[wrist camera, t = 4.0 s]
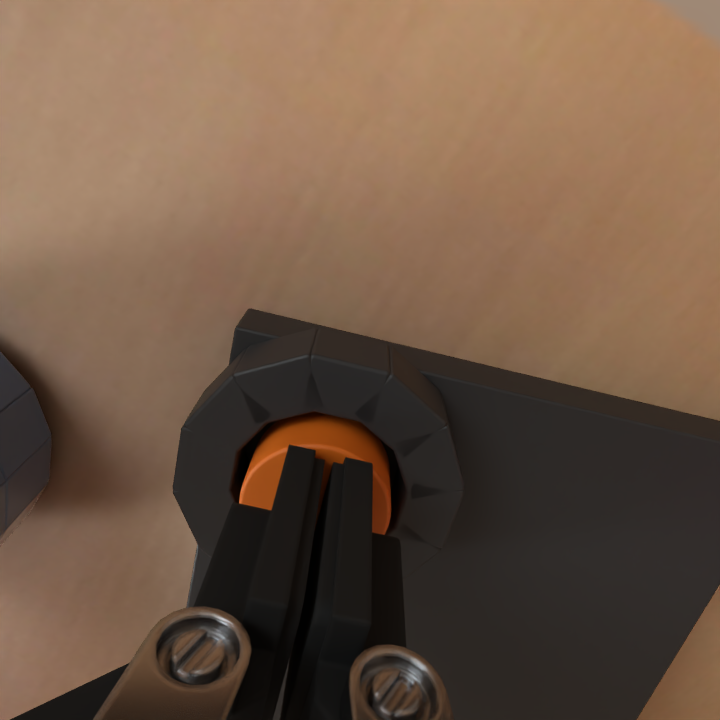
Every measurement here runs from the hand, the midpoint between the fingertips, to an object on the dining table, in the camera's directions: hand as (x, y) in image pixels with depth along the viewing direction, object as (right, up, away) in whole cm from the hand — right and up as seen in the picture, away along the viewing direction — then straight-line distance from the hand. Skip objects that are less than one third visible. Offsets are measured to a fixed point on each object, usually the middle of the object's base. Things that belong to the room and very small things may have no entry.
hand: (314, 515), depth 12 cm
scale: (+3, -4, +6) cm, 8 cm away
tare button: (0, +1, +1) cm, 2 cm away
